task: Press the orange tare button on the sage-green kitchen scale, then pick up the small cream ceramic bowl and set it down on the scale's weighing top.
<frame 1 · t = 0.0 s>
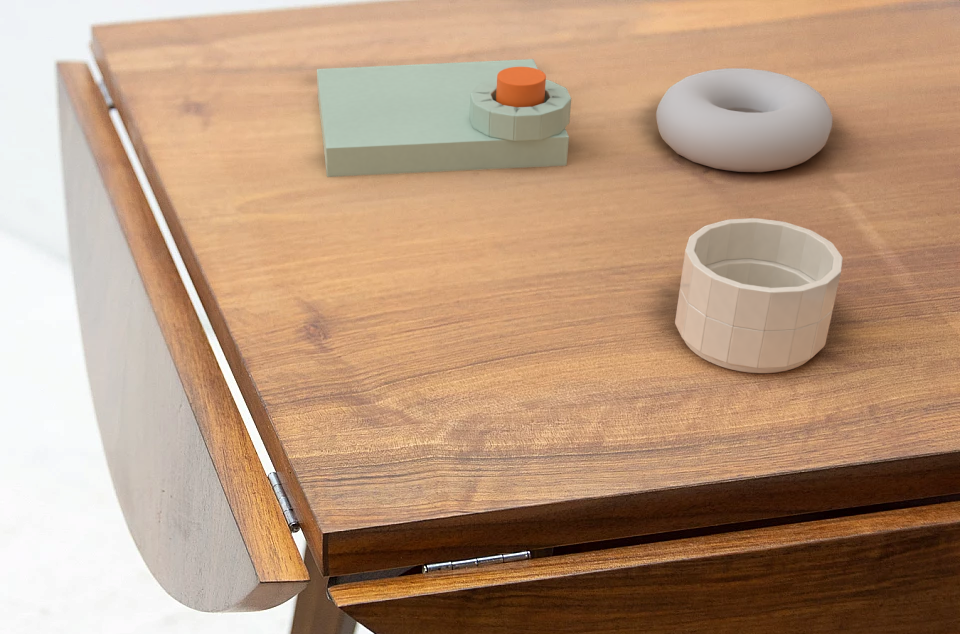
tare button: (520, 88, 80), point 4 cm above the table, slide at 0.1 cm
scale: (435, 129, 86), on the table
donut: (738, 148, 83), on the table
bowl: (748, 337, 66), on the table
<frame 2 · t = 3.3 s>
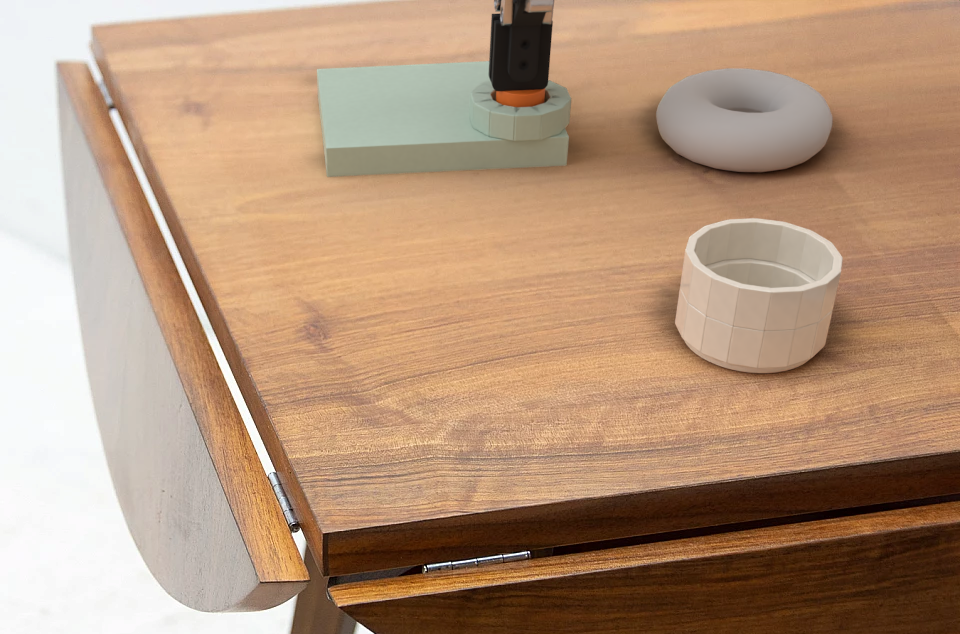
hand: (517, 84, 80), 4 cm above the table, tool pointing down, fingers closed
tare button: (520, 97, 81), point 3 cm above the table, slide at -0.5 cm, touching gripper
everything else where it was.
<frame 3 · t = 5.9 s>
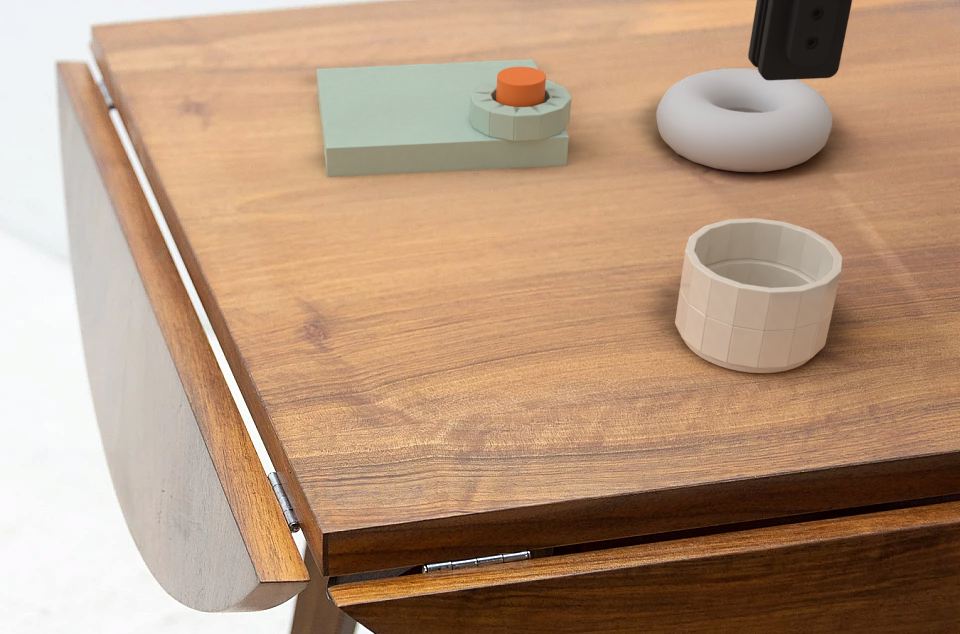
hand: (791, 68, 58), 13 cm above the table, tool pointing down, fingers closed
tare button: (520, 88, 80), point 4 cm above the table, slide at 0.1 cm
everything else where it was.
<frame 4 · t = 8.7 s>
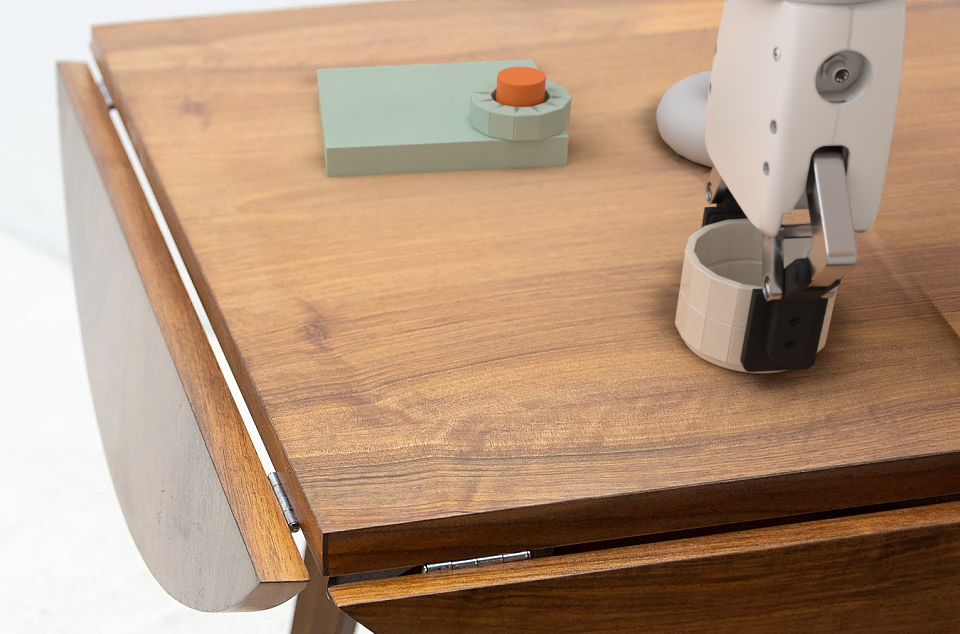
hand: (751, 319, 65), 1 cm above the table, tool pointing down, fingers closed on bowl, 6 cm apart
bowl: (748, 337, 66), on the table, touching gripper
everything else where it was.
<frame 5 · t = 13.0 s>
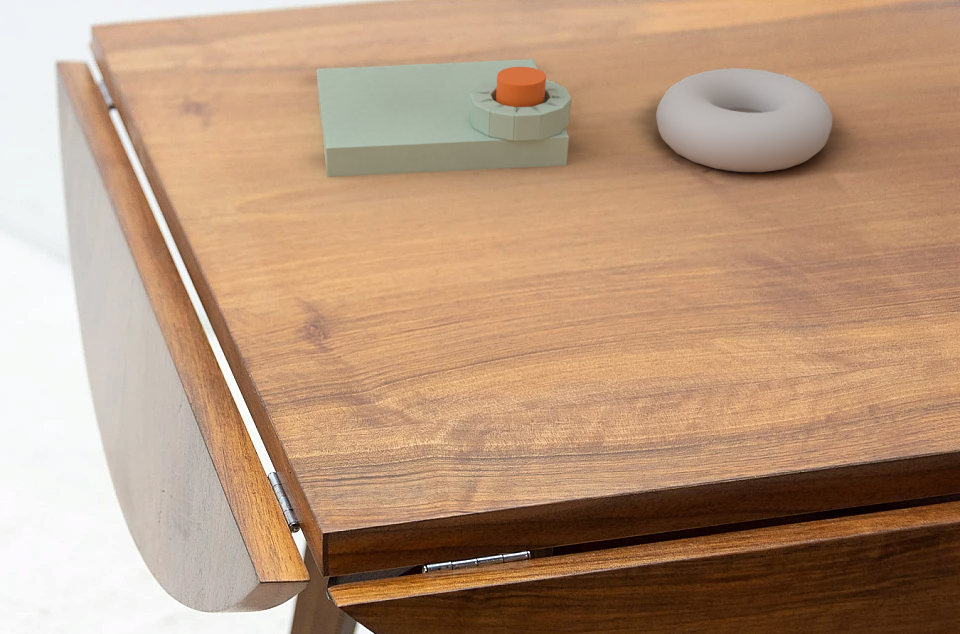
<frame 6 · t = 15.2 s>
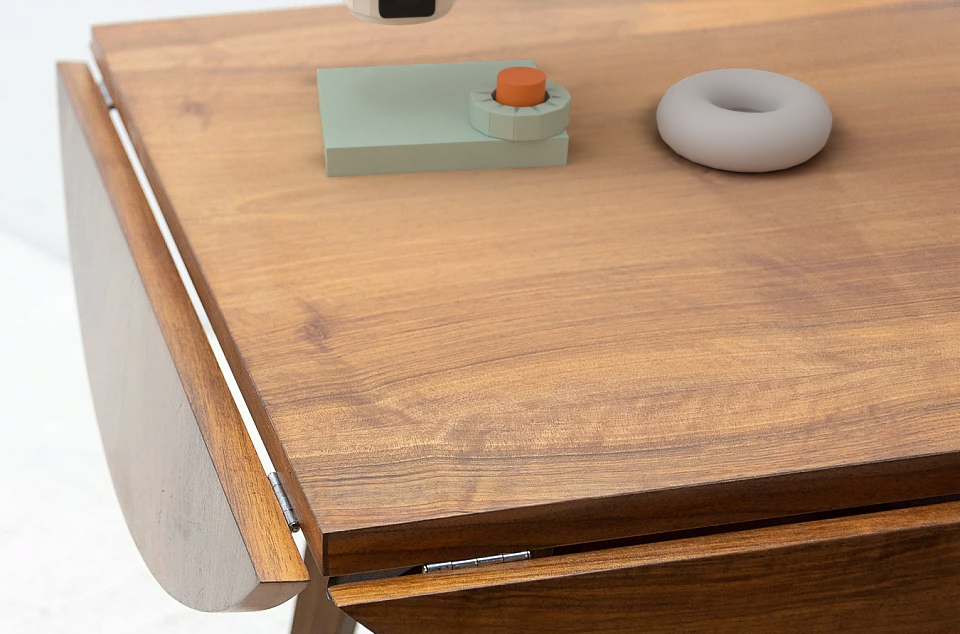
bowl: (399, 7, 82), point 7 cm above the table, touching gripper
everything else where it was.
when the fingers open (3 cm above the table, at t = 17.3 s): bowl stays where it is, resting on scale.
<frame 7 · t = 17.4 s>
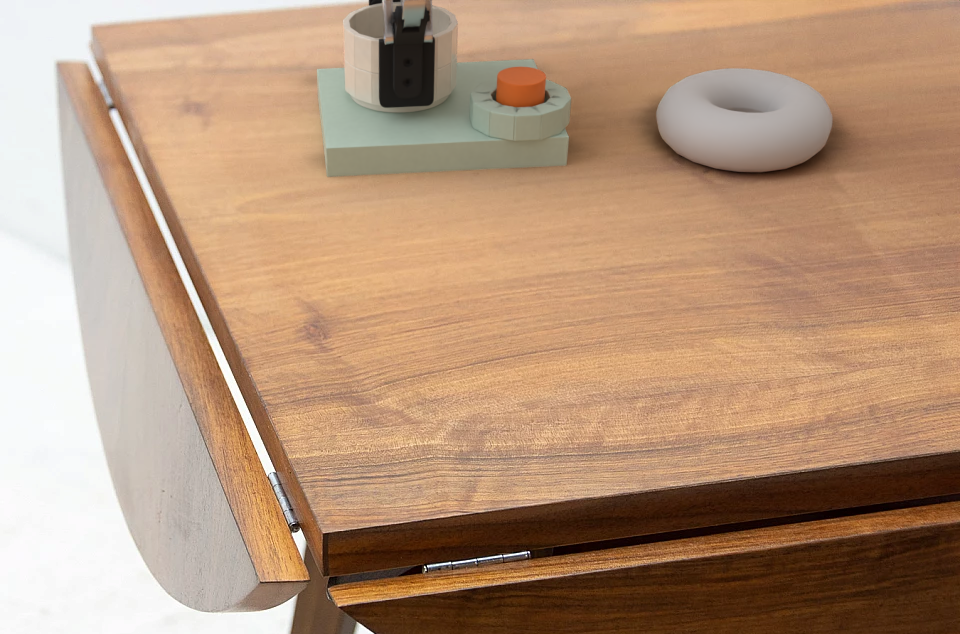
hand: (400, 77, 85), 3 cm above the table, tool pointing down, fingers open, 7 cm apart
bowl: (399, 92, 86), point 2 cm above the table, touching scale
everything else where it was.
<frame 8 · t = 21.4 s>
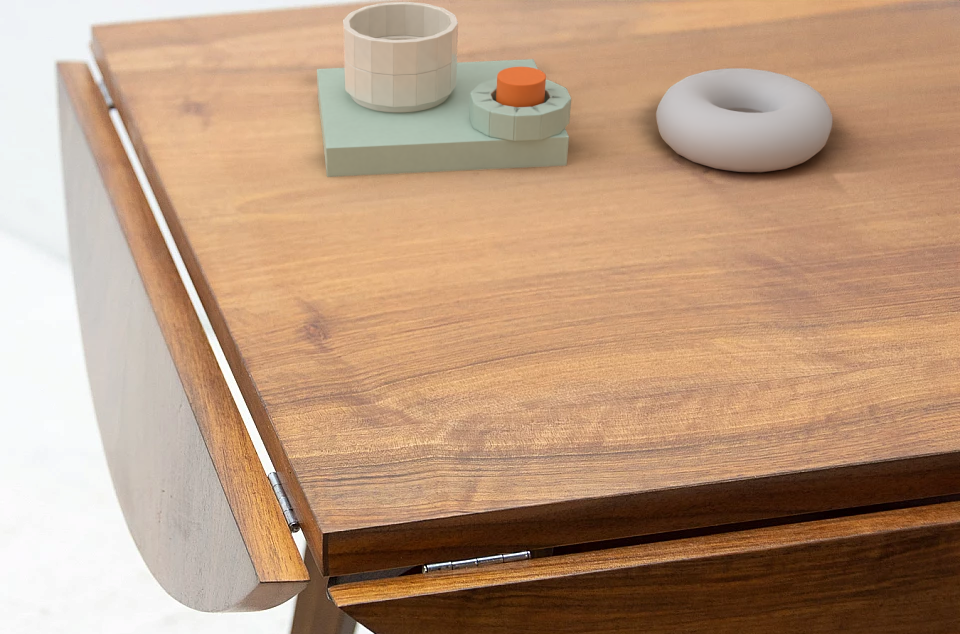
nothing on the table moved.
at the end: tare button pushed in 0.9 cm at the most during the clip, back to where it started at the end; bowl inside the target area on the scale (0.1 cm from its centre), point 1.9 cm above the scale's base; bowl touching scale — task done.
